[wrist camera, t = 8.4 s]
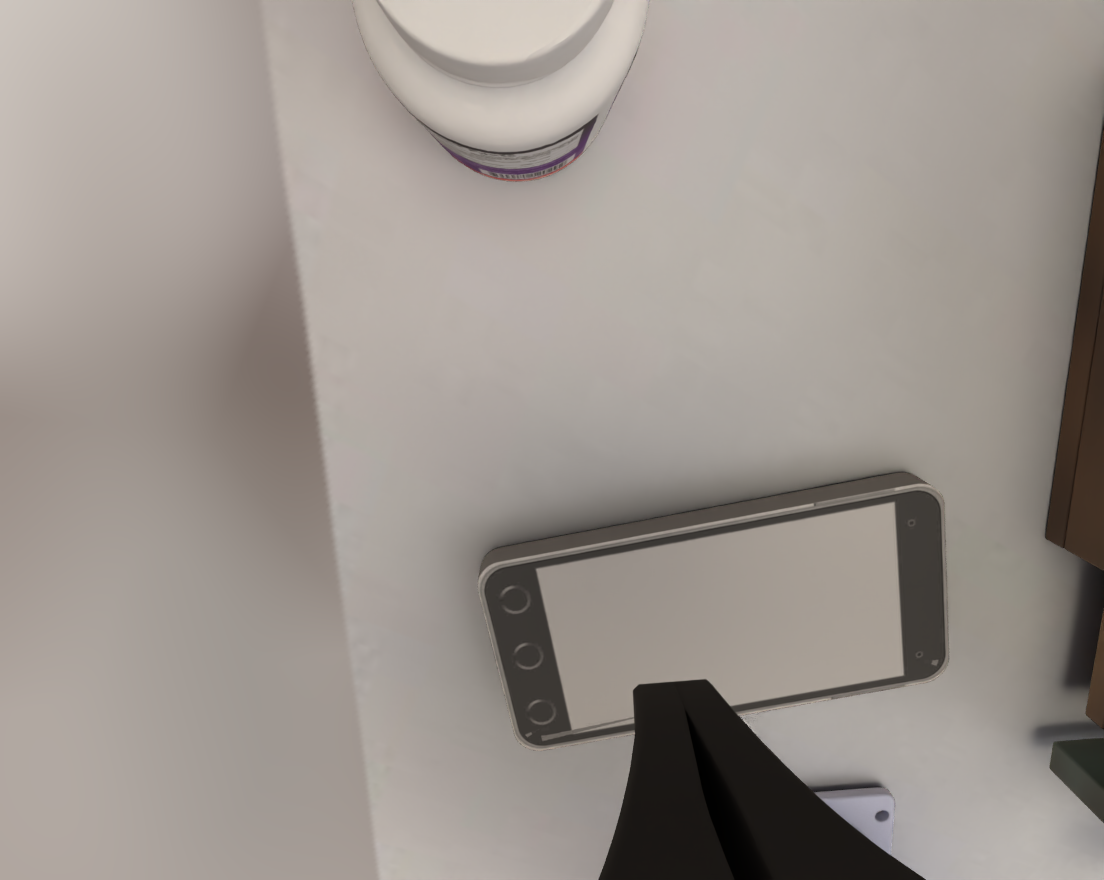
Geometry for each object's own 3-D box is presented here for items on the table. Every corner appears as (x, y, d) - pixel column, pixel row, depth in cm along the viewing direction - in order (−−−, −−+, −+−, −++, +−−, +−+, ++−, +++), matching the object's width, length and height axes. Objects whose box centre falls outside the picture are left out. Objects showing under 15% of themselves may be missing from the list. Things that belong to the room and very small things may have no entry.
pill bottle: (487, -79, 17) (425, -475, 8) (651, 54, 18) (771, -158, 9) (380, 107, 18) (215, -44, 9) (539, 223, 19) (540, 195, 10)
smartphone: (471, 566, 21) (943, 478, 20) (475, 551, 22) (923, 467, 21) (519, 754, 23) (949, 678, 22) (520, 733, 24) (931, 660, 23)
